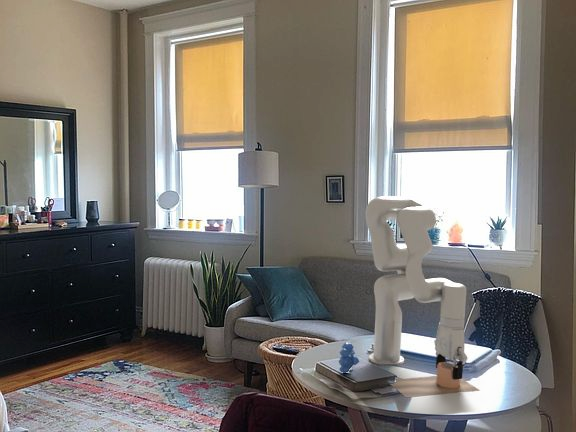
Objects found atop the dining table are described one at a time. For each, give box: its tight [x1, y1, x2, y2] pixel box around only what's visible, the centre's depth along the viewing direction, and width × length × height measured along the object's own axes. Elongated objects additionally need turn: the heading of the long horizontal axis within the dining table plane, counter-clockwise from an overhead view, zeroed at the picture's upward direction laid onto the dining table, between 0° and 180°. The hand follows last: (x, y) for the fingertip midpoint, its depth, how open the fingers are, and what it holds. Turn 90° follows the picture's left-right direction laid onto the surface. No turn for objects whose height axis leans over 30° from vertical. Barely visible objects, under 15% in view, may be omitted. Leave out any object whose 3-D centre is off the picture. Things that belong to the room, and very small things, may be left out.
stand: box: [389, 361, 480, 398], centre depth 187 cm, size 14×26×8 cm, turn 107°
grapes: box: [338, 342, 360, 373], centre depth 196 cm, size 12×7×12 cm, turn 159°
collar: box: [436, 362, 460, 388], centre depth 189 cm, size 7×7×6 cm
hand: (448, 373), depth 189 cm, fingers open, 9 cm apart
